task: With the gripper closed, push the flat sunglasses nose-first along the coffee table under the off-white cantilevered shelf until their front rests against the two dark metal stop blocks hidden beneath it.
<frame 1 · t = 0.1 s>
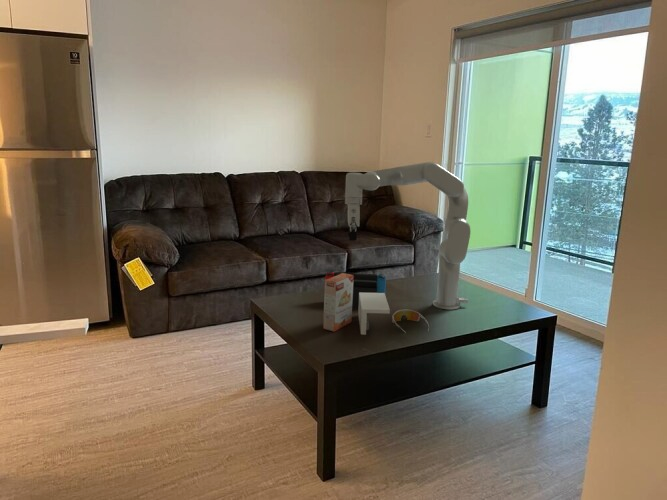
hand: (352, 238, 239), 31 cm above the table, tool pointing down, fingers open, 9 cm apart
game console: (354, 304, 246), on the table
sunglasses: (409, 326, 220), on the table
overhang dock: (371, 324, 220), on the table
cracker box: (338, 326, 218), on the table
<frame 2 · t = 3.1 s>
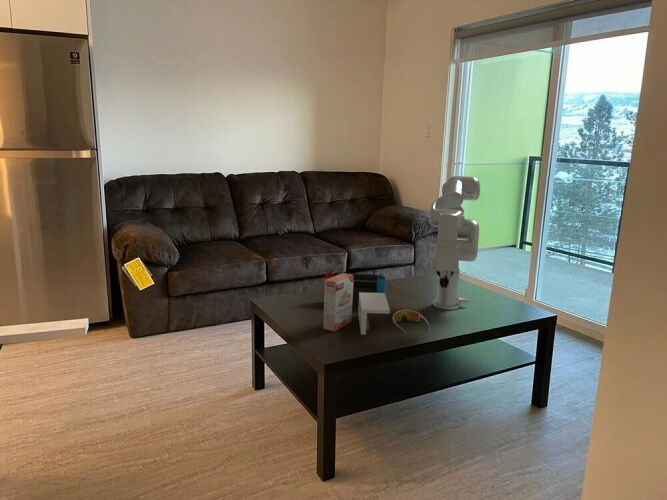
hand: (443, 286, 216), 17 cm above the table, tool pointing down, fingers closed
nothing on the table moved.
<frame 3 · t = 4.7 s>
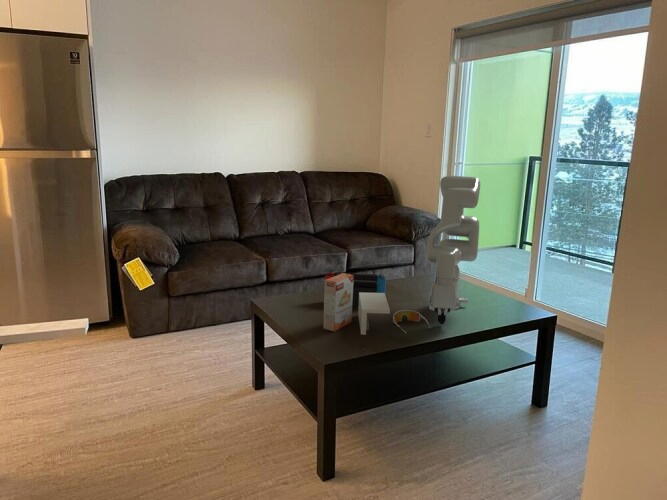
hand: (441, 323, 219), 1 cm above the table, tool pointing down, fingers closed
nothing on the table moved.
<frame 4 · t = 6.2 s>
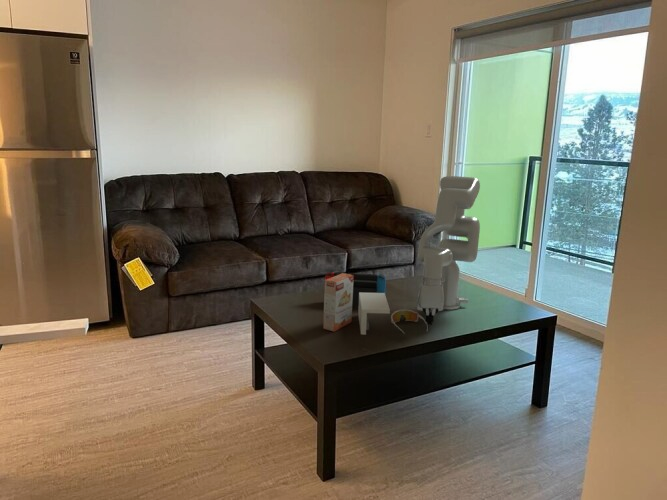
hand: (429, 323, 220), 1 cm above the table, tool pointing down, fingers closed
nothing on the table moved.
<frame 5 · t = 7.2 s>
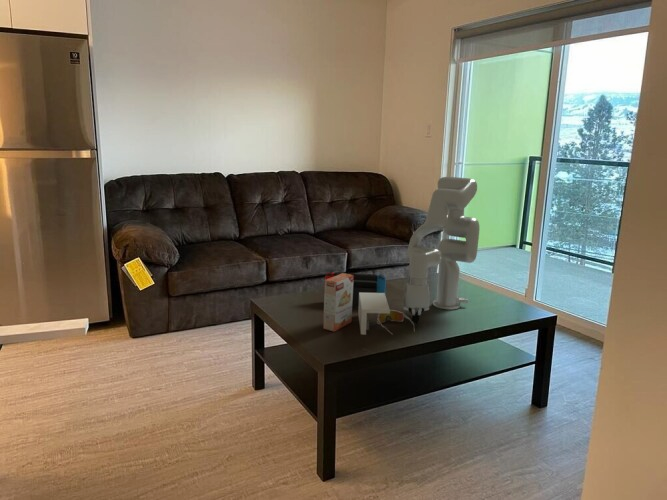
hand: (415, 323, 220), 1 cm above the table, tool pointing down, fingers closed
sunglasses: (395, 327, 218), on the table, touching gripper
everything else where it was.
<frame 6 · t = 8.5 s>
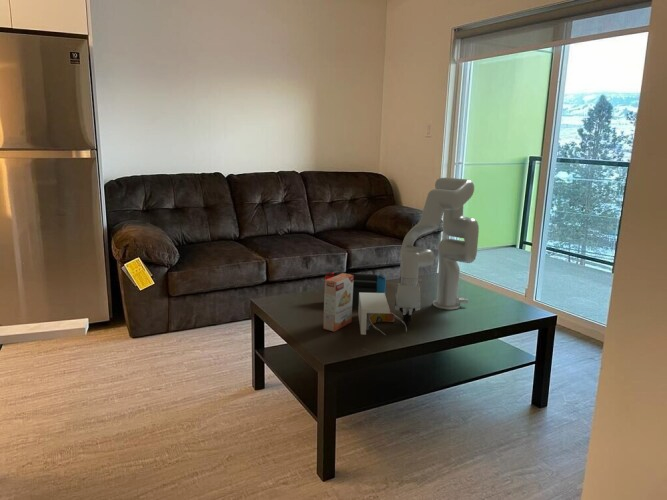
hand: (406, 322, 220), 1 cm above the table, tool pointing down, fingers closed
sunglasses: (386, 328, 218), on the table
everything else where it was.
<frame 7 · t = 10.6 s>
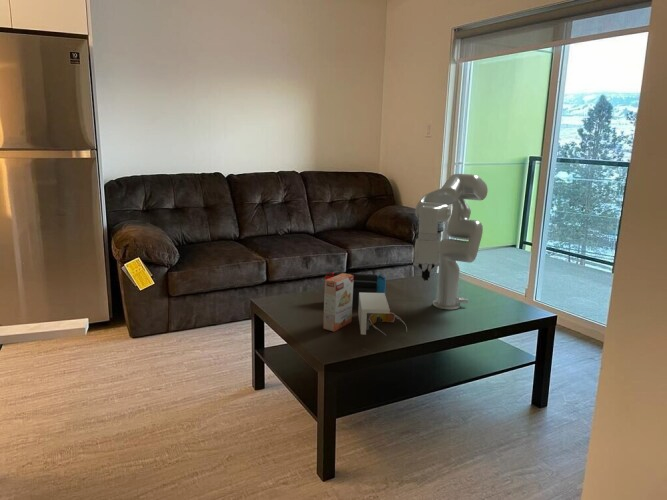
hand: (425, 279, 218), 19 cm above the table, tool pointing down, fingers closed
nothing on the table moved.
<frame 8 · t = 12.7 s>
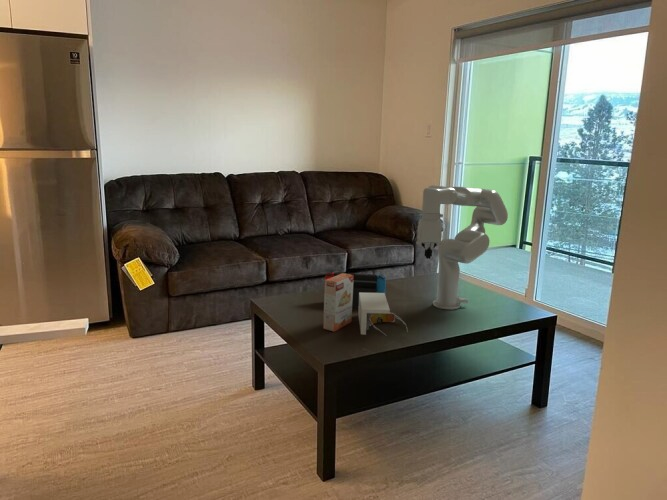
hand: (427, 257, 231), 25 cm above the table, tool pointing down, fingers closed
nothing on the table moved.
at the end: sunglasses 2.7 cm from the target spot on the overhang dock, point -0.6 cm above the overhang dock's base; sunglasses tilted 1°; the gripper is holding nothing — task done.
